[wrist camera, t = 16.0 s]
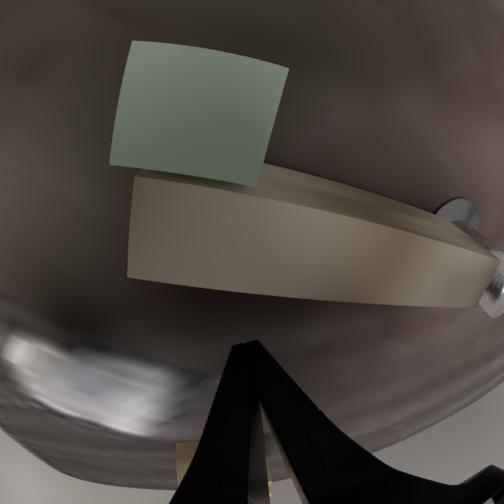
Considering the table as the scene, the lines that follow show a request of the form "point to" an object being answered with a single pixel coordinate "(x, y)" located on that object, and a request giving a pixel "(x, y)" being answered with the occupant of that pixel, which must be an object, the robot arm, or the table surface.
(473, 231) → the metal door knob
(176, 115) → the post
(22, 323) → the table surface
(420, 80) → the table surface
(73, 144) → the table surface
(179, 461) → the oak block
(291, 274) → the gate rail
